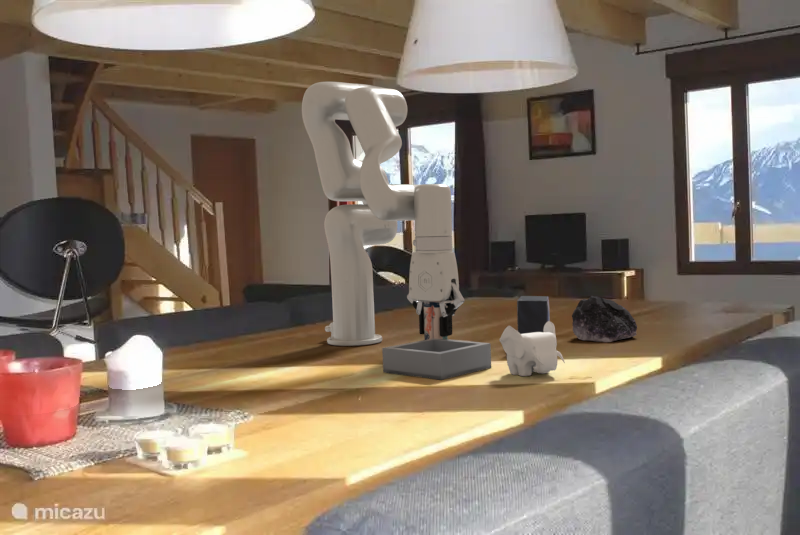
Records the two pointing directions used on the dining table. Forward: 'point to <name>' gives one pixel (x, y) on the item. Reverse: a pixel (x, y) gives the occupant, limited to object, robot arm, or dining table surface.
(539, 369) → the elephant figurine
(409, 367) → the tray
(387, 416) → the dining table surface
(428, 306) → the beer can
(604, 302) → the crystal cluster
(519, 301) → the small box
